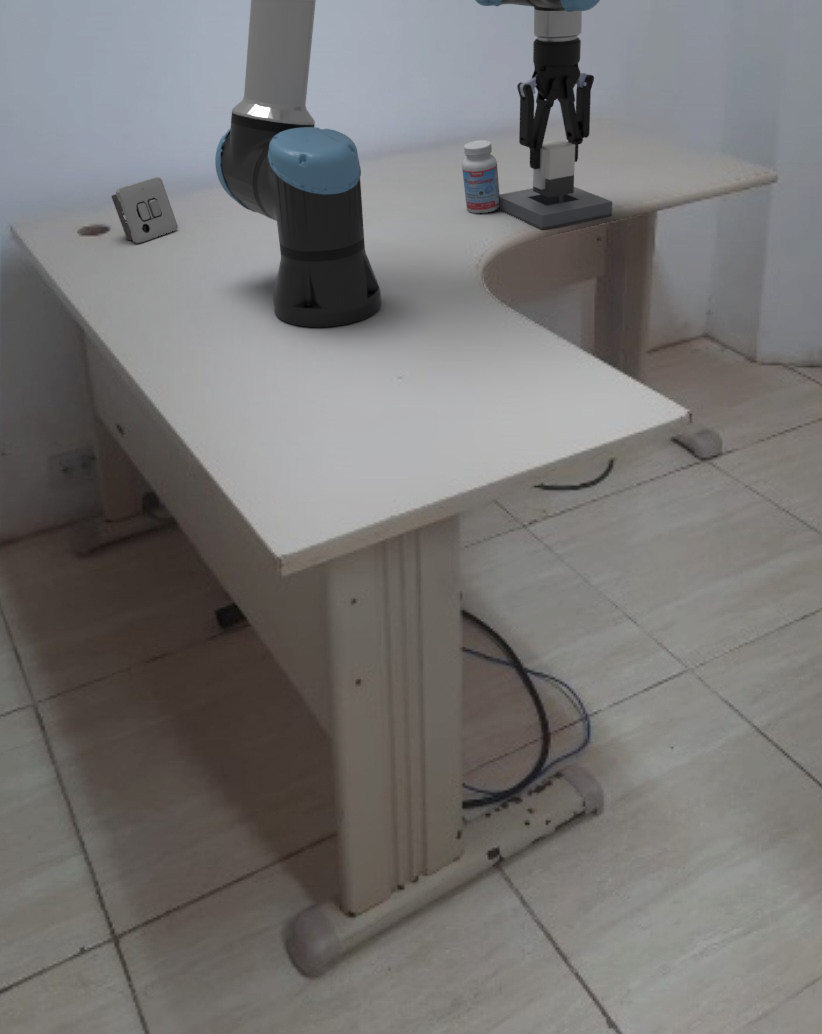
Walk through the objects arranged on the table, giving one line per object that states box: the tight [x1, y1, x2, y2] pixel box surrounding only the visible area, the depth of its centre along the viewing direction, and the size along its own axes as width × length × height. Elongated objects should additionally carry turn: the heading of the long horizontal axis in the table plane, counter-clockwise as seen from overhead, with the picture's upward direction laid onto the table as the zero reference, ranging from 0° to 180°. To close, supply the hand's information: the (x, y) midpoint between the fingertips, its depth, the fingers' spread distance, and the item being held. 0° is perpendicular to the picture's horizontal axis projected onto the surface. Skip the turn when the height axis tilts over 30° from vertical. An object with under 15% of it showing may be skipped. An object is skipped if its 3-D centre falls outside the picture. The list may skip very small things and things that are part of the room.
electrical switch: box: [111, 176, 179, 244], centre depth 181 cm, size 9×5×9 cm, turn 141°
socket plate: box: [498, 186, 613, 231], centre depth 183 cm, size 15×14×2 cm
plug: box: [532, 138, 576, 198], centre depth 180 cm, size 5×5×8 cm
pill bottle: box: [461, 139, 500, 214], centre depth 184 cm, size 6×6×11 cm
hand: (553, 184), depth 181 cm, fingers closed on plug, 5 cm apart
